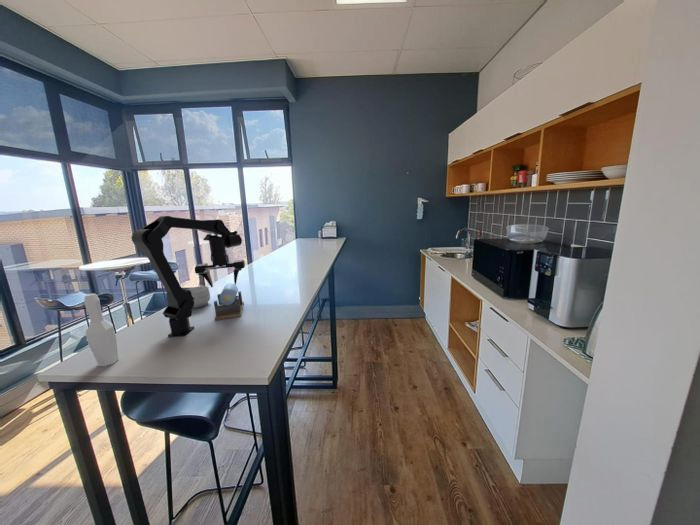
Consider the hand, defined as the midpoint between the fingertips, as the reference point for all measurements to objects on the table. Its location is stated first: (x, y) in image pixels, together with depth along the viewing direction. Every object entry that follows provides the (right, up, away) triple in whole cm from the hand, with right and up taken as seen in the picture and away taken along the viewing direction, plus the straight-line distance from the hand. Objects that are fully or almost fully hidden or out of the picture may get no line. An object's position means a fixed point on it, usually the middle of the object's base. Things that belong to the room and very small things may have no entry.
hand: (224, 285), depth 117 cm
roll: (+2, -4, +1) cm, 4 cm away
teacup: (-18, -10, +14) cm, 25 cm away
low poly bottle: (-20, -21, -33) cm, 44 cm away
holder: (+1, -11, +3) cm, 12 cm away
